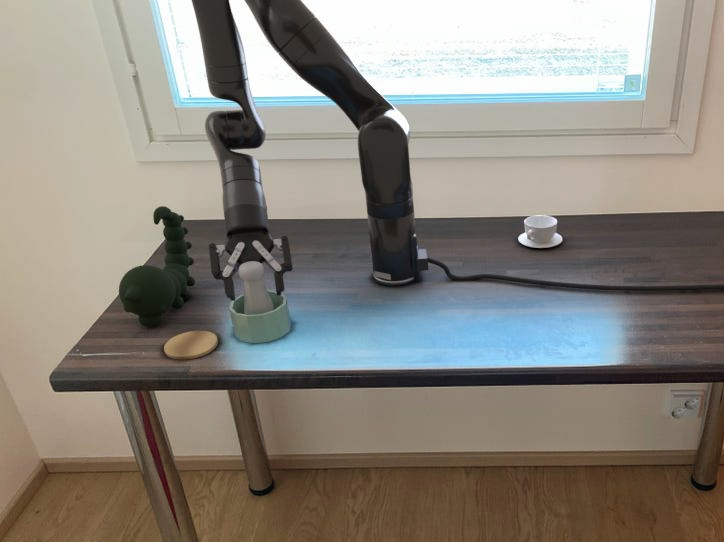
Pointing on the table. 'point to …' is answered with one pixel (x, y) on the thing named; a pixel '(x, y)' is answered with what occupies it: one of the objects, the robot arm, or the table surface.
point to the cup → (261, 320)
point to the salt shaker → (255, 289)
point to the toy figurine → (160, 275)
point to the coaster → (190, 345)
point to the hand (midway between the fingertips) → (256, 296)
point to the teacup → (540, 232)
